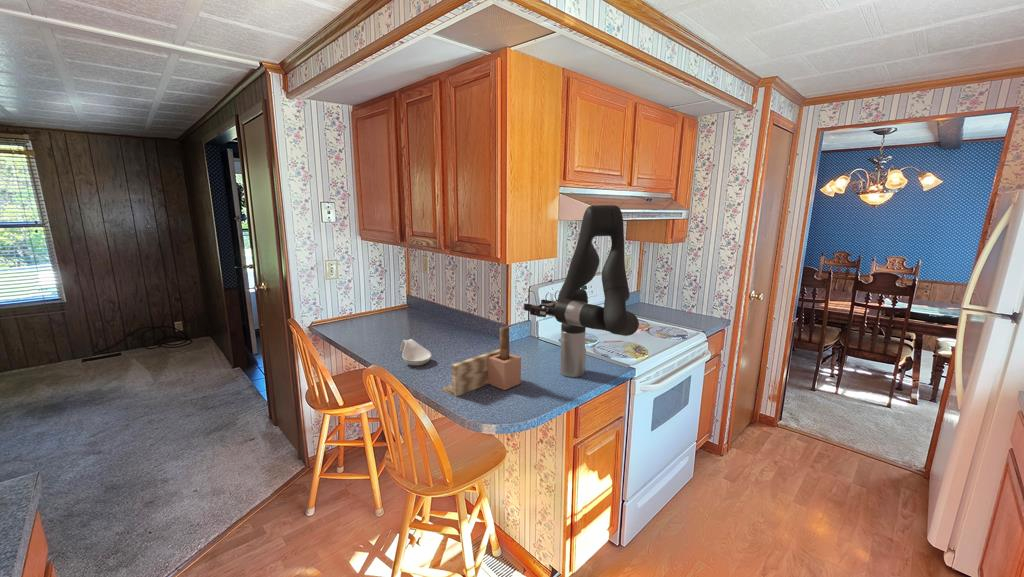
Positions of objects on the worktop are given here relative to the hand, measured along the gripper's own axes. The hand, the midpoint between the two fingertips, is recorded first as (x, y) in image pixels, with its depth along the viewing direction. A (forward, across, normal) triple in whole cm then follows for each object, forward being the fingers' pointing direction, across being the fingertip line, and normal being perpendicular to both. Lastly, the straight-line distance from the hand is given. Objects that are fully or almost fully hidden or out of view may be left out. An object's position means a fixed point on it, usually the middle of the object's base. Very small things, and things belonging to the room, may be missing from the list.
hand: (533, 304), depth 143 cm
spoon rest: (+61, +8, +32) cm, 69 cm away
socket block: (+14, 0, +32) cm, 35 cm away
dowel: (+14, 0, +25) cm, 28 cm away
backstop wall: (+22, +7, +32) cm, 39 cm away
